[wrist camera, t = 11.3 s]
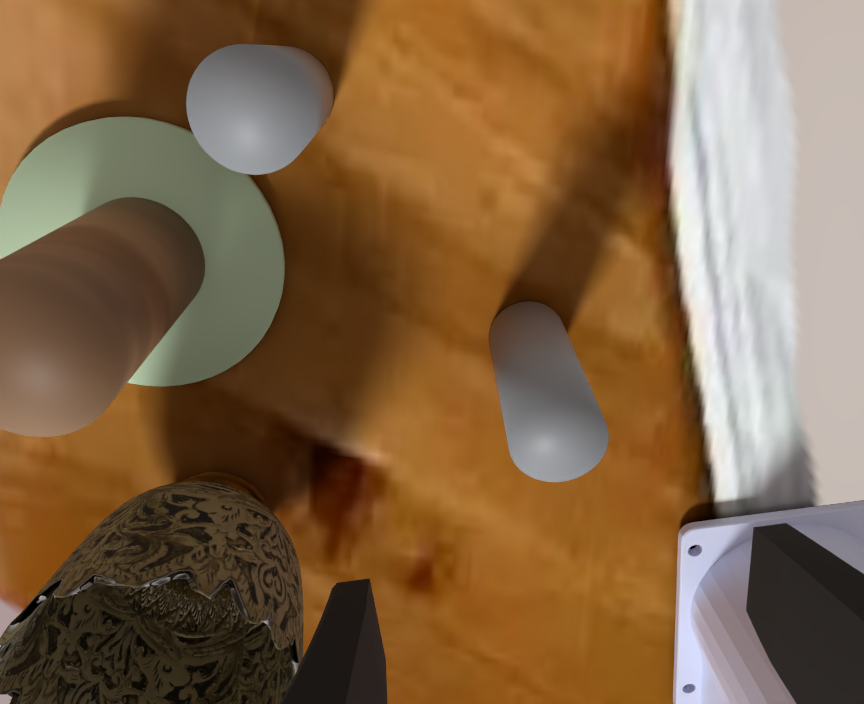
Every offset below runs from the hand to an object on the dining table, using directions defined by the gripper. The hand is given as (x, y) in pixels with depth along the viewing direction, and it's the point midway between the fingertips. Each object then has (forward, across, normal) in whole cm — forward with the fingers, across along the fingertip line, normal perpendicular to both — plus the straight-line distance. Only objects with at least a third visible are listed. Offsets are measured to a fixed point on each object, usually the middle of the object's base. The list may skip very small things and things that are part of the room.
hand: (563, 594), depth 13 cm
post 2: (+10, -1, -1) cm, 10 cm away
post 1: (+10, +5, -9) cm, 14 cm away
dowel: (+10, +10, -5) cm, 15 cm away
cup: (+11, +10, +4) cm, 15 cm away
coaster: (+10, +10, -5) cm, 15 cm away
